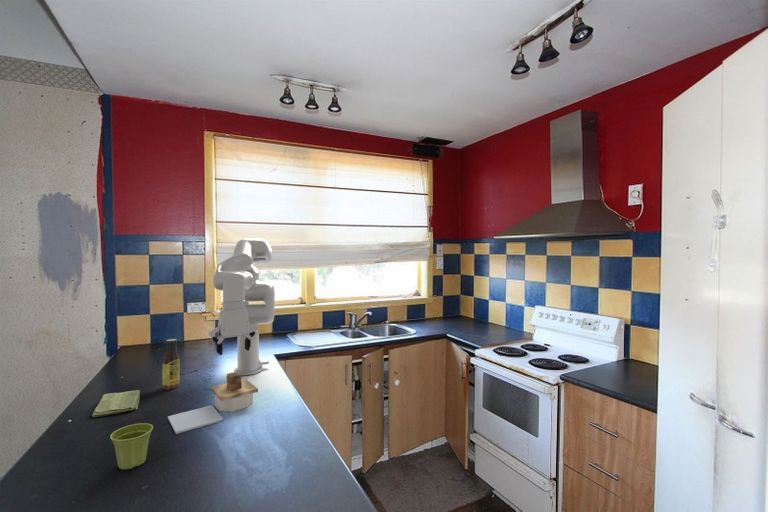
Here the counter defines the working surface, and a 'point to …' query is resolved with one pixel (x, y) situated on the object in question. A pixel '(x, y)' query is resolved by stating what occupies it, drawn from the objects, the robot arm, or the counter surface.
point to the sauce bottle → (170, 366)
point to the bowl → (234, 403)
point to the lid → (234, 387)
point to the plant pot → (131, 444)
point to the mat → (194, 419)
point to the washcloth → (117, 403)
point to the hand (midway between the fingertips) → (233, 352)
